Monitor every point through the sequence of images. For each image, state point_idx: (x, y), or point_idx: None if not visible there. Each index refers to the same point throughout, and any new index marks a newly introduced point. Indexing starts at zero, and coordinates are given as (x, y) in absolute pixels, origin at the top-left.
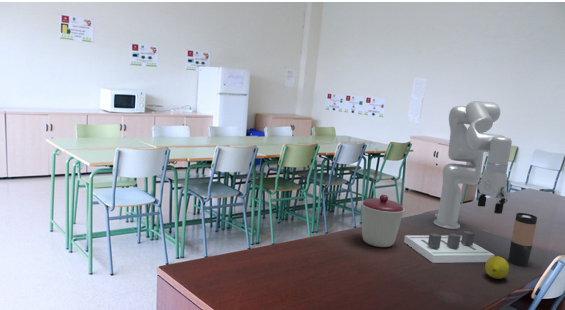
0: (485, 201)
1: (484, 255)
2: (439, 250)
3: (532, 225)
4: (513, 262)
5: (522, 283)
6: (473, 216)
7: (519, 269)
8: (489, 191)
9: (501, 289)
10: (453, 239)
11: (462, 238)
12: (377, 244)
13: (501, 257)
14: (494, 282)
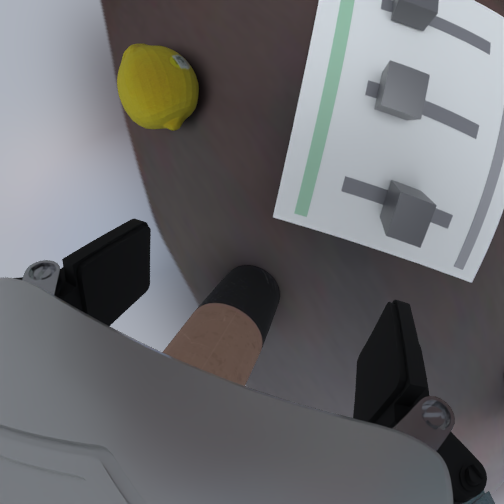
0: (357, 397)
1: (284, 168)
2: (374, 8)
3: None
4: (245, 267)
5: (135, 147)
6: (489, 455)
7: (208, 240)
8: (26, 379)
9: None
10: (386, 68)
11: (422, 194)
12: None
13: (134, 100)
14: None
